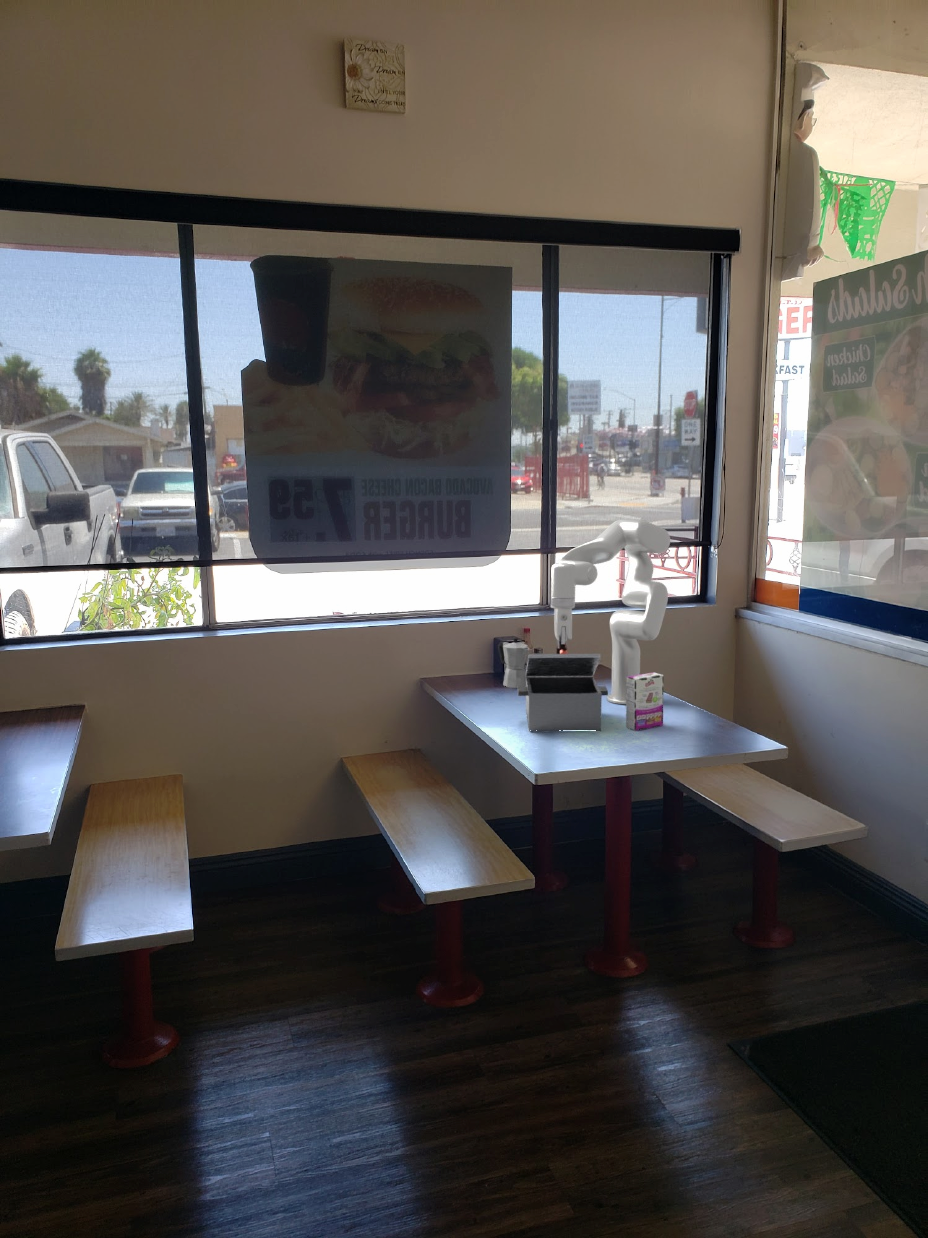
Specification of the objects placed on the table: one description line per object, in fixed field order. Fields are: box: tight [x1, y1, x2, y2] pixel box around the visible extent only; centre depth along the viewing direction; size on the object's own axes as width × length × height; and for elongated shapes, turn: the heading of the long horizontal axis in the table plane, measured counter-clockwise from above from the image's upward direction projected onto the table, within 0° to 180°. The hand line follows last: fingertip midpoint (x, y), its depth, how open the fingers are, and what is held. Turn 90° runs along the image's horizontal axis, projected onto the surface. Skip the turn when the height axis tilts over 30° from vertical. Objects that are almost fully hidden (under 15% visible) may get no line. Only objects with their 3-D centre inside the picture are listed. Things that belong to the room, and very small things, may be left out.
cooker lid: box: [525, 649, 602, 677], centre depth 285 cm, size 22×22×3 cm
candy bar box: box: [625, 672, 665, 732], centre depth 278 cm, size 11×5×16 cm, turn 117°
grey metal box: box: [517, 676, 609, 732], centre depth 285 cm, size 28×22×12 cm
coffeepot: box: [497, 637, 530, 689], centre depth 333 cm, size 15×9×18 cm, turn 44°
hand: (561, 660), depth 283 cm, fingers closed
